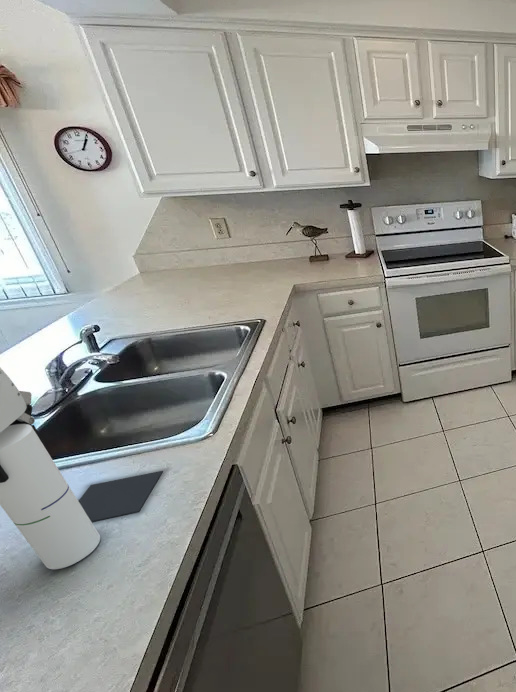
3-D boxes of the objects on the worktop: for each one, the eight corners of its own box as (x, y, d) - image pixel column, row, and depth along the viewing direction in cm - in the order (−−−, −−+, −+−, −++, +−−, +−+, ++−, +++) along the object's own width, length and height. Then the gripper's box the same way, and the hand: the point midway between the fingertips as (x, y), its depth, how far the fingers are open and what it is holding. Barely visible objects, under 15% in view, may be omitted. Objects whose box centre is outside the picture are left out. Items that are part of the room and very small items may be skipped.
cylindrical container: (108, 540, 74) (41, 431, 63) (57, 576, 68) (-27, 462, 57) (88, 526, 77) (19, 419, 66) (36, 559, 71) (-48, 447, 60)
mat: (57, 529, 77) (56, 528, 77) (91, 485, 86) (90, 484, 86) (139, 511, 80) (138, 510, 80) (163, 471, 90) (162, 470, 89)
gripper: (-35, 341, 63) (24, 433, 70) (-161, 407, 48) (-68, 515, 55) (27, 335, 65) (77, 424, 72) (-76, 396, 50) (2, 501, 57)
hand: (14, 463), depth 64 cm, fingers closed on cylindrical container, 7 cm apart
